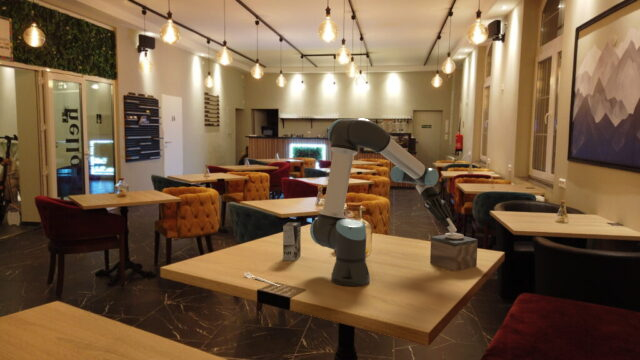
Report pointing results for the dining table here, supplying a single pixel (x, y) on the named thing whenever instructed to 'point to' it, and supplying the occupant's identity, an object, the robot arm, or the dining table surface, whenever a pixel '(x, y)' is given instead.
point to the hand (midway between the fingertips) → (454, 231)
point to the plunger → (454, 236)
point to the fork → (258, 278)
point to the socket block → (453, 252)
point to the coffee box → (291, 241)
